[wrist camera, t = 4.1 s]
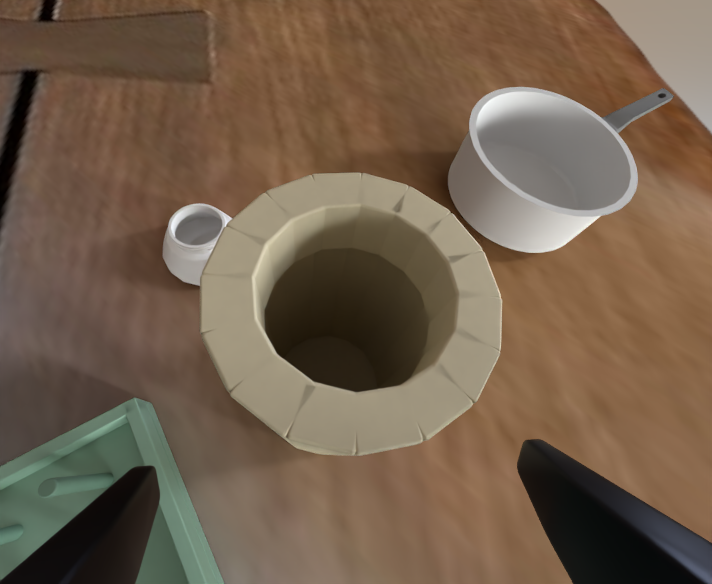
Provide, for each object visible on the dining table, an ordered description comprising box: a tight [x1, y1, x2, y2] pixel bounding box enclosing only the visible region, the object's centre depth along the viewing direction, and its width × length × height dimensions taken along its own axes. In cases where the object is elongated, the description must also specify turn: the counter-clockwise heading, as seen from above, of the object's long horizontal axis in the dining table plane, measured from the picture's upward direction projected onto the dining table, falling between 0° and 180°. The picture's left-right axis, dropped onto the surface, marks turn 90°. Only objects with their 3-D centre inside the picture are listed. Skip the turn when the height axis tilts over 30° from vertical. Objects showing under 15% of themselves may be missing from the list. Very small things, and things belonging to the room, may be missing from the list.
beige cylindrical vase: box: [200, 172, 502, 456], centre depth 13 cm, size 7×7×13 cm
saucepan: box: [448, 87, 674, 253], centre depth 26 cm, size 12×20×6 cm, turn 123°
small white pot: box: [163, 204, 233, 286], centre depth 20 cm, size 5×3×5 cm
